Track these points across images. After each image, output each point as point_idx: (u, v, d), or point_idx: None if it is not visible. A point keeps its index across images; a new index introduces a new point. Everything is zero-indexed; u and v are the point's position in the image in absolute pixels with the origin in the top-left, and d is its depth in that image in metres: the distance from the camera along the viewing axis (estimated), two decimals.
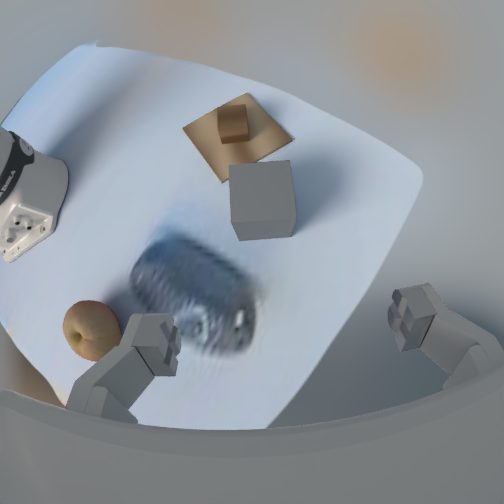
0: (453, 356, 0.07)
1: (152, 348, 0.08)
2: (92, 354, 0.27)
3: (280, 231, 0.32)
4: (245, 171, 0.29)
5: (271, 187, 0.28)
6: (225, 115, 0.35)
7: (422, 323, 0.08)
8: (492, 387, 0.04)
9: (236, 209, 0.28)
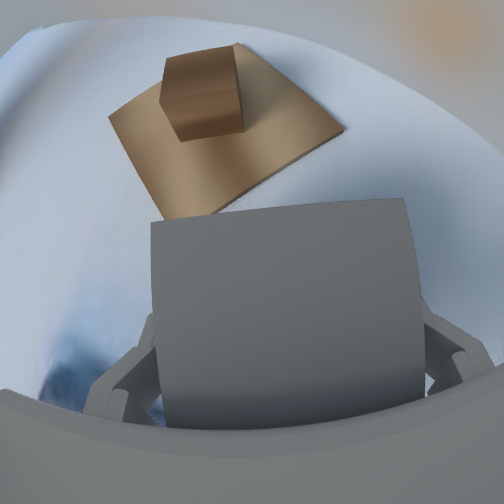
0: (438, 361, 0.07)
1: None
2: None
3: None
4: (220, 253, 0.07)
5: (340, 333, 0.06)
6: (181, 71, 0.12)
7: None
8: (492, 387, 0.04)
9: (189, 427, 0.06)
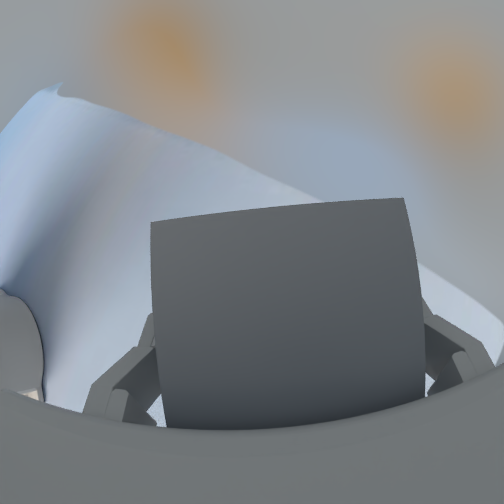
0: (438, 361, 0.07)
1: None
2: None
3: None
4: (220, 253, 0.06)
5: (340, 333, 0.06)
6: None
7: None
8: (492, 387, 0.04)
9: (189, 427, 0.06)
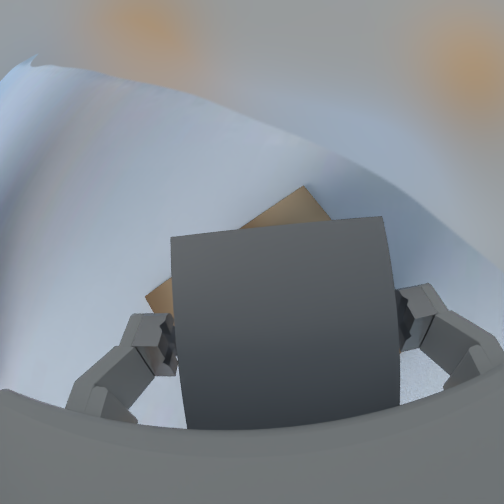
0: (453, 356, 0.07)
1: (152, 348, 0.08)
2: None
3: None
4: (229, 263, 0.08)
5: (326, 328, 0.07)
6: None
7: (422, 323, 0.08)
8: (492, 387, 0.04)
9: (203, 407, 0.07)
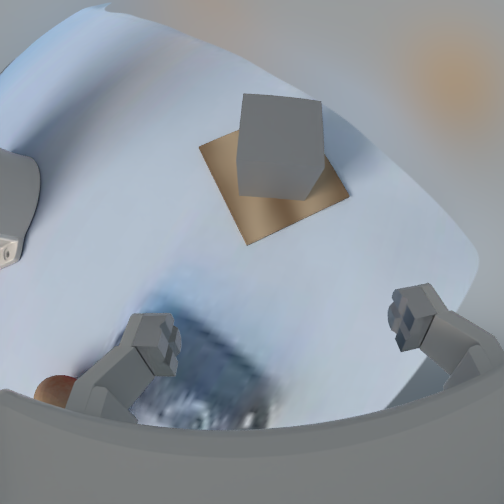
0: (453, 356, 0.07)
1: (152, 348, 0.08)
2: None
3: (294, 188, 0.25)
4: (264, 103, 0.20)
5: (295, 126, 0.20)
6: None
7: (422, 323, 0.08)
8: (492, 387, 0.04)
9: (245, 144, 0.20)
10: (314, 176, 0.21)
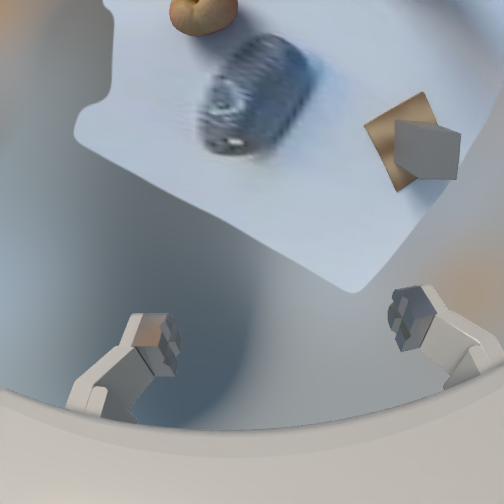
0: (453, 356, 0.07)
1: (152, 348, 0.08)
2: (177, 18, 0.21)
3: (403, 157, 0.33)
4: (455, 145, 0.27)
5: (442, 163, 0.28)
6: None
7: (422, 323, 0.08)
8: (492, 387, 0.04)
9: (432, 134, 0.26)
10: (414, 172, 0.31)
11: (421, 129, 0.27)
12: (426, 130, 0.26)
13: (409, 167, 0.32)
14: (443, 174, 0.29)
